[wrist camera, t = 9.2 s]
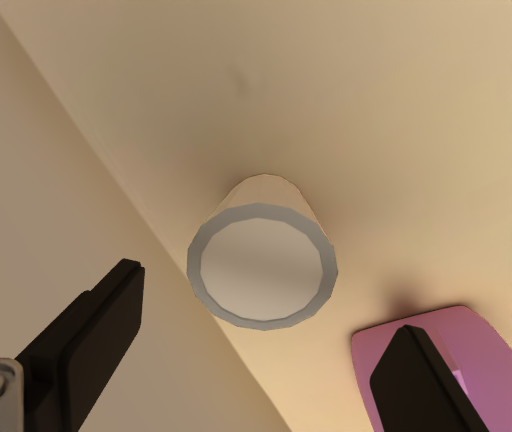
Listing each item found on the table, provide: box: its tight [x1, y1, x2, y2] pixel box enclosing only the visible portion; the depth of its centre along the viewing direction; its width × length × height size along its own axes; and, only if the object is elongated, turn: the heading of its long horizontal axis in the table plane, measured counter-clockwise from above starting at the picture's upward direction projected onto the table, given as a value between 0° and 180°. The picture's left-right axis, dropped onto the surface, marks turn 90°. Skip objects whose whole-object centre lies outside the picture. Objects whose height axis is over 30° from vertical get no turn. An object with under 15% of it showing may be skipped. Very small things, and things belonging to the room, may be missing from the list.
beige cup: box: [187, 174, 338, 331], centre depth 16 cm, size 7×7×7 cm
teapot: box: [351, 306, 512, 432], centre depth 18 cm, size 18×10×10 cm, turn 24°
